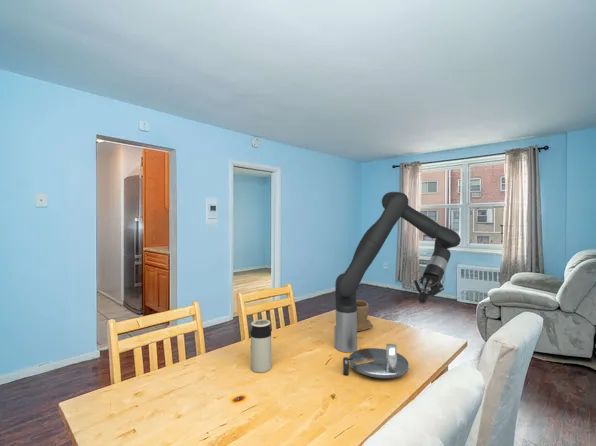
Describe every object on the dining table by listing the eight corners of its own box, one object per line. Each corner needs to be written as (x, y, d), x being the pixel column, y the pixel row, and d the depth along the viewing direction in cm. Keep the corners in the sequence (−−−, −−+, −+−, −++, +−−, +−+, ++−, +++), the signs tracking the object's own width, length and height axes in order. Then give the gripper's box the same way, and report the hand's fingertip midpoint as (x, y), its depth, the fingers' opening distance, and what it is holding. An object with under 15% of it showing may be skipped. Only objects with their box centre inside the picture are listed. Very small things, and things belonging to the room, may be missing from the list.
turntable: (346, 351, 134) (346, 326, 134) (399, 352, 133) (399, 327, 133) (352, 377, 112) (352, 347, 112) (416, 378, 111) (416, 349, 111)
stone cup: (355, 335, 158) (355, 305, 157) (341, 328, 168) (341, 300, 168) (379, 330, 164) (379, 301, 164) (365, 323, 175) (364, 296, 175)
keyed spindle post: (342, 374, 119) (342, 358, 119) (373, 359, 131) (373, 344, 131) (370, 387, 109) (370, 370, 109) (400, 370, 122) (400, 354, 122)
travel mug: (275, 367, 125) (275, 322, 124) (260, 375, 119) (259, 327, 118) (262, 361, 130) (261, 317, 130) (246, 368, 124) (246, 322, 124)
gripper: (418, 261, 141) (403, 293, 133) (448, 265, 131) (433, 300, 123) (424, 272, 144) (409, 304, 136) (453, 276, 134) (440, 310, 126)
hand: (421, 302), depth 130 cm, fingers closed
